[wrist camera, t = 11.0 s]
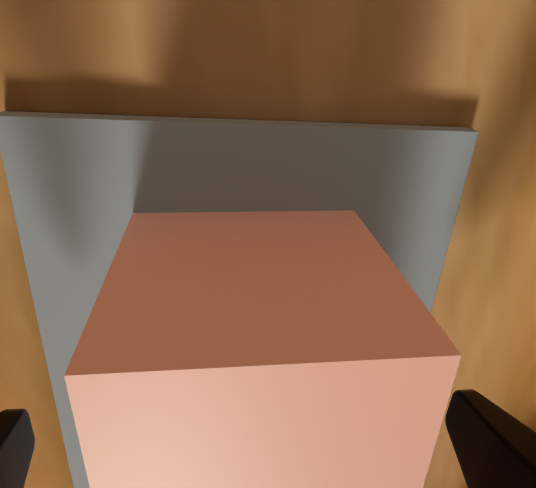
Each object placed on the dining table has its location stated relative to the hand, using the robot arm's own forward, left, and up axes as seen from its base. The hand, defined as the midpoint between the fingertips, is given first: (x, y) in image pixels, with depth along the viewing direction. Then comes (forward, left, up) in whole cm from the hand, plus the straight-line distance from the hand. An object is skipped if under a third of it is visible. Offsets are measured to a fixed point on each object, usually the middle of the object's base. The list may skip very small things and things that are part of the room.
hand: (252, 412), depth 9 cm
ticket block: (0, +5, -2) cm, 6 cm away
